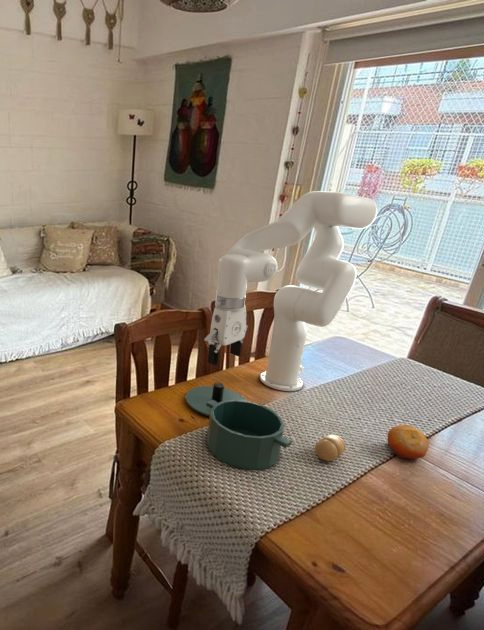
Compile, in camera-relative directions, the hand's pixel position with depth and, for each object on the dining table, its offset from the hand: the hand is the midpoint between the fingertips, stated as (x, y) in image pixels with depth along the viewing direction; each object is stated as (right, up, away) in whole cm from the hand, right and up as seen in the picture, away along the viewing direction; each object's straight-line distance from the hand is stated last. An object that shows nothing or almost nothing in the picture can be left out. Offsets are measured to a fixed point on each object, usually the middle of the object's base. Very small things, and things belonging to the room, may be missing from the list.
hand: (224, 359), depth 123 cm
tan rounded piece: (+19, -21, -18) cm, 34 cm away
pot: (-1, -20, -15) cm, 25 cm away
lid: (-1, -13, +4) cm, 14 cm away
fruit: (+38, -21, -17) cm, 47 cm away
